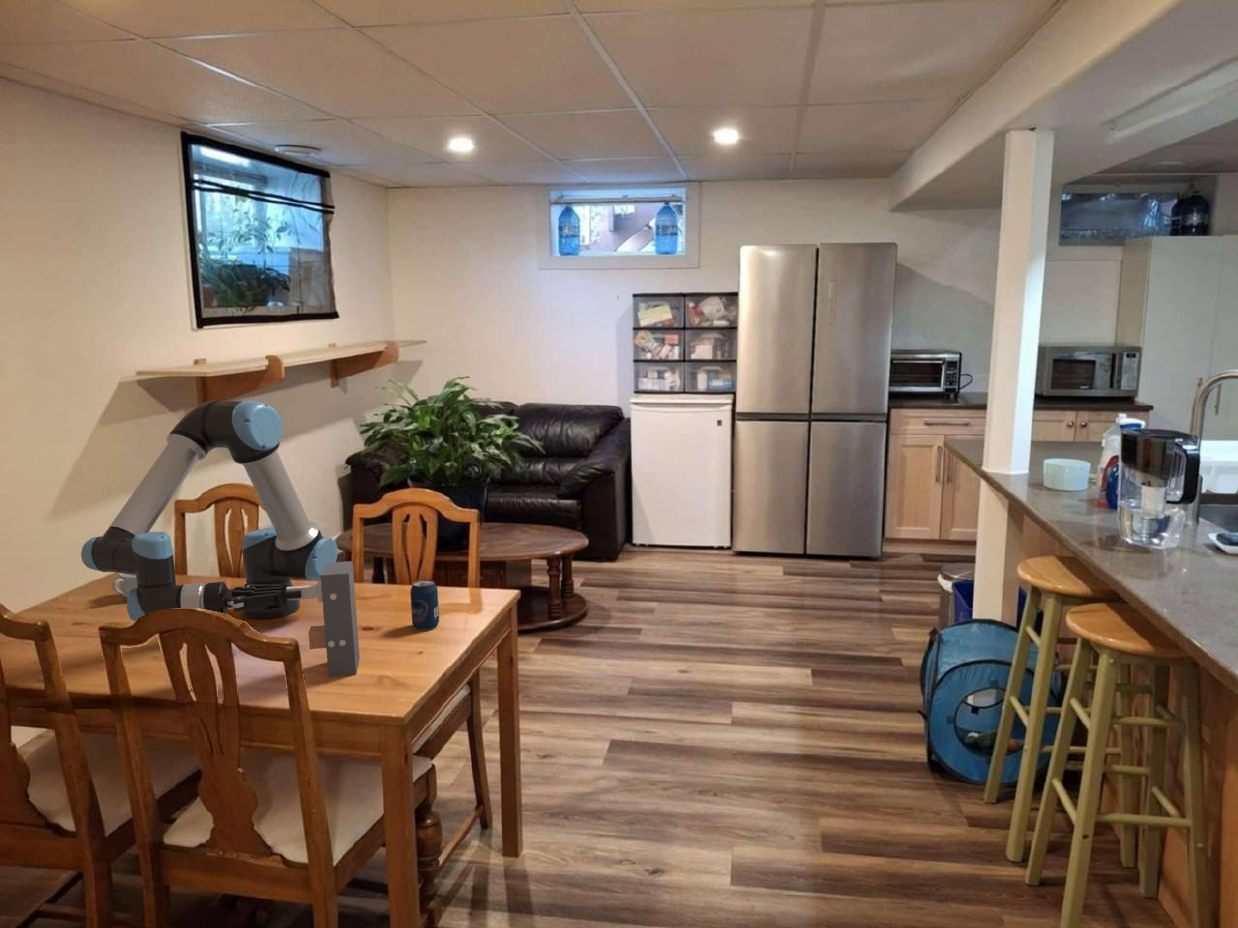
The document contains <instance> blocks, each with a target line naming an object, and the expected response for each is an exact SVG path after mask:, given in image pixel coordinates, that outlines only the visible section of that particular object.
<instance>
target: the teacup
mask: <svg viewBox="0 0 1238 928" xmlns="http://www.w3.org/2000/svg"><path fill="white" fill-rule="evenodd" d="M118 576H119V577H118V578H115V579H114V580H113V581H112V584H111V588H112V591H113V592H115V593H116V594H120V595H122V596H123V597H124V598H127V597H128V593H129V592H130V590H131V589H134V588H137V579H136V575H131V574H123V573H118ZM118 584H119V586H120V587H119V588H120V589H119V588H118V587H117V586H118Z"/></svg>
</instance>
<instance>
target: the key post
mask: <svg viewBox="0 0 1238 928" xmlns="http://www.w3.org/2000/svg"><path fill="white" fill-rule="evenodd" d="M354 575H355V573H354V564H353V561H352V560H350V561H336V562H335V563H326V564H325V566H324V569H323V571H322V573H321V588H322V600H323V602H322V609H323V610H322V611H323V625H325V638H326V648H325V649H326V659H327V660H326V662H327V672H328V673H327V674H328V675H327V676H328V678H337V677H347V676H348V677H349V676H356V675H357V673H358V667H359V663H360V644H359V643H360V642H359V631H358V629H359V628H358V618H357V617H358V615H357V603H356V589H355V576H354Z"/></svg>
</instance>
